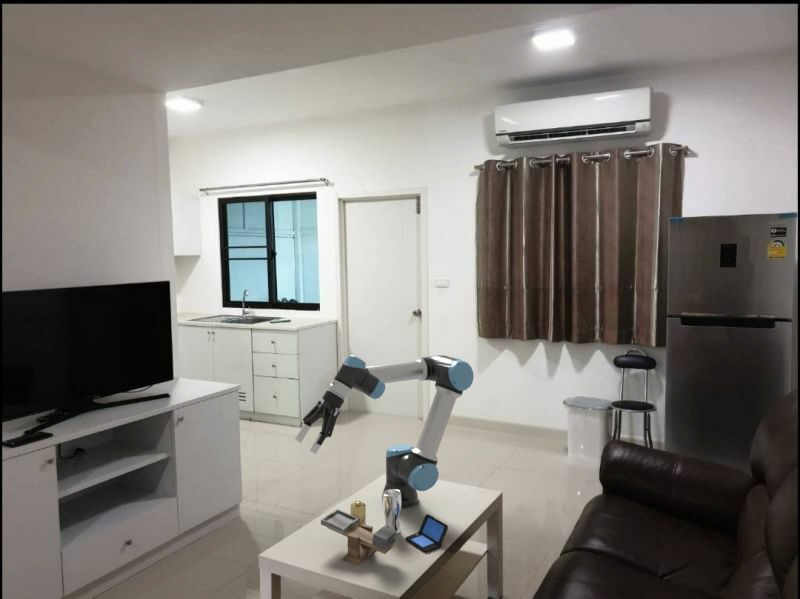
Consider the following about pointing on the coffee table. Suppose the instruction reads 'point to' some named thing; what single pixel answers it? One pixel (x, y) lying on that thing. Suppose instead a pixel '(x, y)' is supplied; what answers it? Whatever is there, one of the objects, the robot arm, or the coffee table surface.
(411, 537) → the handheld game console
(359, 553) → the beam stand
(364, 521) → the brass weight
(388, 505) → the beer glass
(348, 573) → the coffee table surface
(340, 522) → the balance beam
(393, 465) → the robot arm
